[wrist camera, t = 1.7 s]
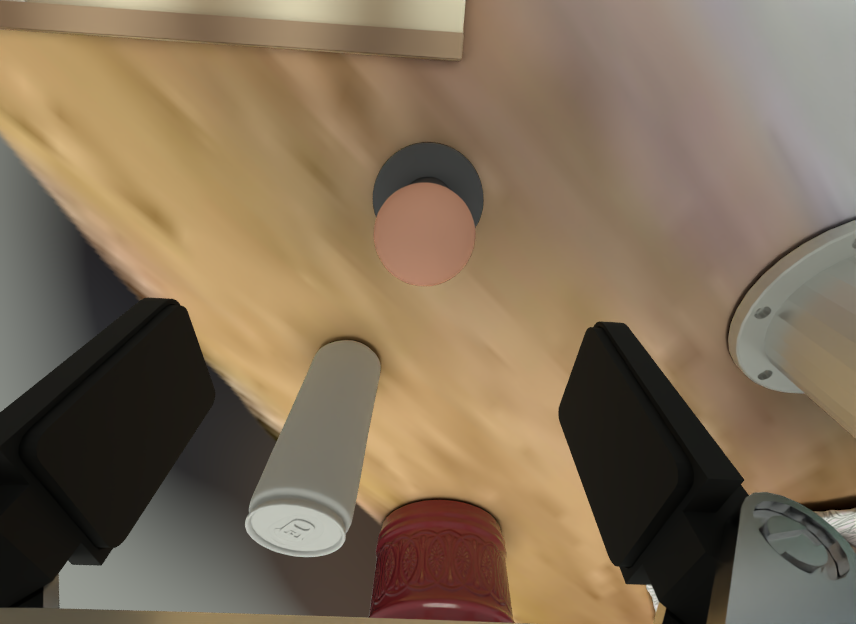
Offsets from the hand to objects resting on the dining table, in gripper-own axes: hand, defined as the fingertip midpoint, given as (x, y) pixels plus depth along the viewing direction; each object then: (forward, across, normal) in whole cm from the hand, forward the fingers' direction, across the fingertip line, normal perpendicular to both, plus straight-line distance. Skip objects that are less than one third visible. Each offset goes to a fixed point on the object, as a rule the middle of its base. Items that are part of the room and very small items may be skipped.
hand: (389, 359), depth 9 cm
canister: (+14, -4, +35) cm, 38 cm away
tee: (+14, -1, 0) cm, 14 cm away
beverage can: (+14, +4, +12) cm, 19 cm away
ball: (+11, -1, 0) cm, 11 cm away
